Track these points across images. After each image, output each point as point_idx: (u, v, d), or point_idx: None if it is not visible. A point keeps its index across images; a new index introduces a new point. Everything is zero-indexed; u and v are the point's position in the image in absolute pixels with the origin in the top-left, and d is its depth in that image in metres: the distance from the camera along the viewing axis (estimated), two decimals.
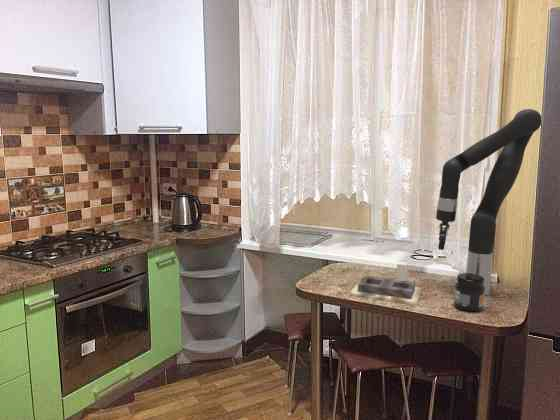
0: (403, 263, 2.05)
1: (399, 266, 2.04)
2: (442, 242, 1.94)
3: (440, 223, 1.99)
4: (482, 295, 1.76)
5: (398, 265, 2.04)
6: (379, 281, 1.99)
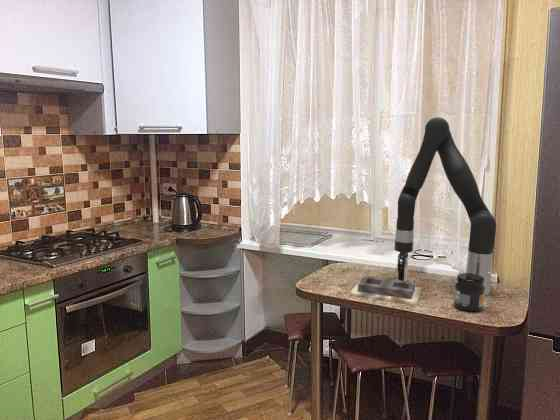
0: None
1: None
2: (401, 273, 2.03)
3: None
4: (482, 295, 1.76)
5: None
6: (379, 281, 1.99)
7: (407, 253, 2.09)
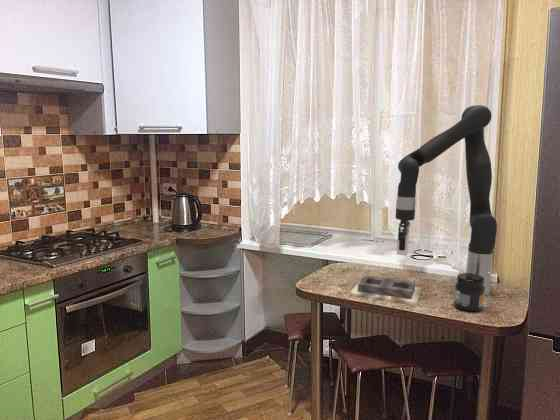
0: None
1: None
2: (402, 242, 1.93)
3: None
4: (482, 295, 1.76)
5: None
6: (379, 281, 1.99)
7: (409, 222, 1.99)
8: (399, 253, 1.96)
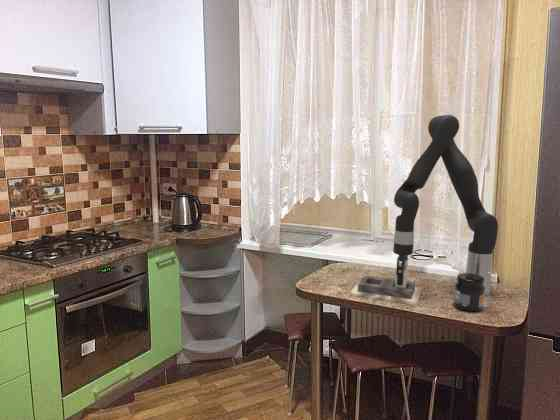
0: None
1: None
2: (400, 277, 1.88)
3: (398, 256, 1.92)
4: (482, 295, 1.76)
5: None
6: (379, 281, 1.99)
7: (407, 254, 1.95)
8: None
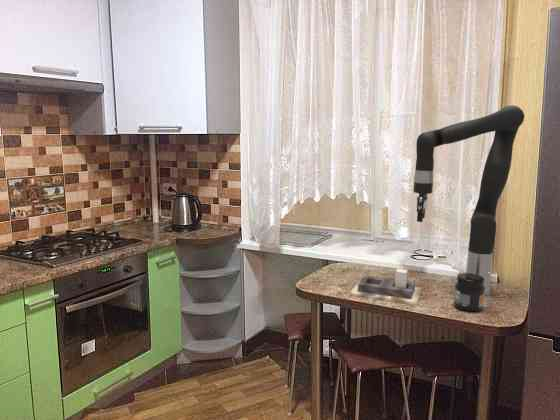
0: (402, 270, 1.91)
1: (398, 273, 1.90)
2: (420, 214, 1.96)
3: None
4: (482, 295, 1.76)
5: (397, 273, 1.90)
6: (379, 281, 1.99)
7: (426, 194, 2.04)
8: None
